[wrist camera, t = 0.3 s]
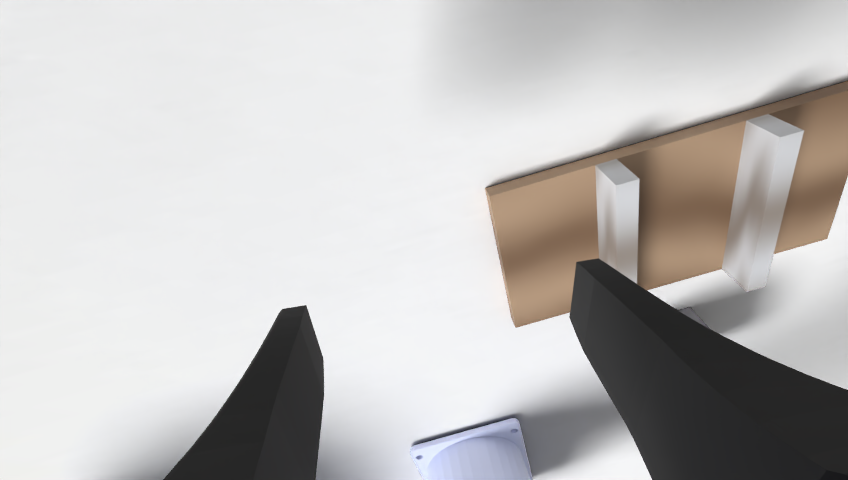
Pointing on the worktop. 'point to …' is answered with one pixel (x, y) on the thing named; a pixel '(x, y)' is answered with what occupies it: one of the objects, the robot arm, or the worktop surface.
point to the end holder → (677, 204)
